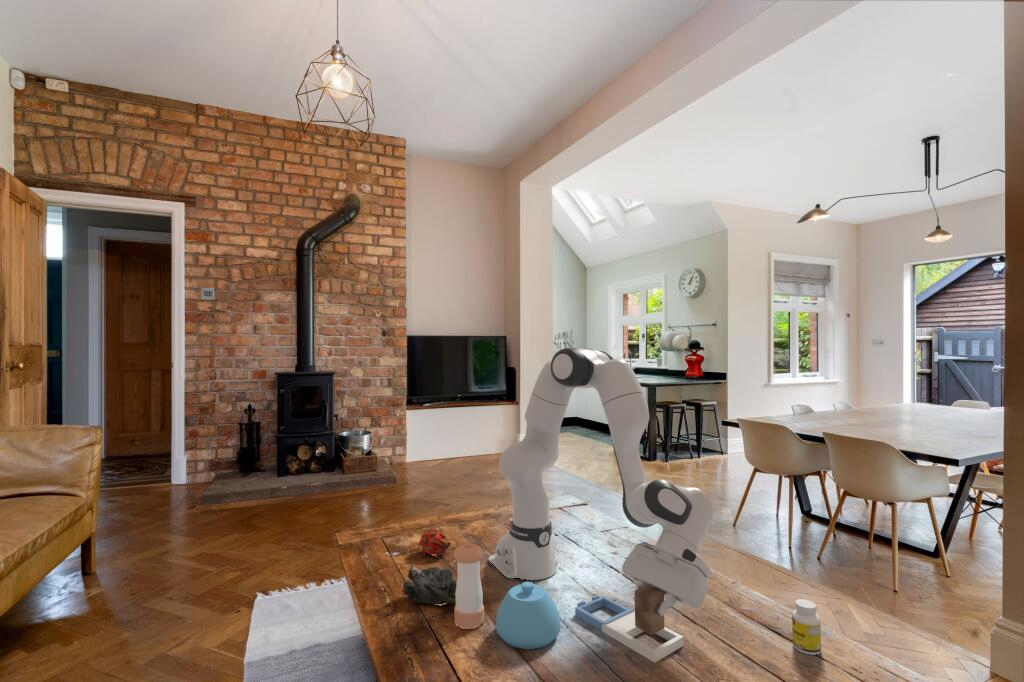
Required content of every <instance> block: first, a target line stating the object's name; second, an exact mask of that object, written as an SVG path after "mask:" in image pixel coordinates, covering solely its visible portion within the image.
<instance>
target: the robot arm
mask: <svg viewBox="0 0 1024 682" xmlns="http://www.w3.org/2000/svg"><path fill="white" fill-rule="evenodd" d="M576 388H578V389H589V388H590V389H591V388H594V389H595V390H596V392H597V393H598V395H599V398H600V401H601V406H602V408H603V411H604V414H605V418H606V420H607V421H606V422H607V424H608V428H609V432H610V433H609V434H610V437H611V441H612V446H613V447H612V448H613V453H614V456H615V460H616V463H617V464H616V465H617V469H618V472H619V475H620V476H619V477H620V481H621V484H622V501H621V502H622V503H621V504H622V510H623V514H624V515H625V517H626V519H627V520H628V521H629V522H630V523H631V524H633V525H634V526H635V527H639V528H650V527H652V526H655V525H656V524H658V525H660V526H661V527H662V531H661V534H660V535H659V537H658V539H657V541H656V543H655V545H653V544H650V543H648V542H646V541H643V542H640V543H636V544H635V546H634V548H633V549H632V550H631V552H630V553H629V554H628V556H627V557H626V559H625V560H624V562H623V564H622V565H621V571H622V573H623V574H624V575H625V576H626V578H628V579H630V580H632V581H635V582H636V583H635V590H637V589H639V588H641V587H644V586H646V585H649V586H652V587H654V588H656V589H658V590H660V591H663V592H664V598H665V599H664V602H663V603H661V604H659V603H657V605H656V607H655V612H656V613H657V614H659V615H661V616H664V617H665V614H666V612H667V610H669V609H670V608H672V607H673V606H675V604H676V602H677V601H678V602H680V603H682V604H684V605H687V606H689V607H691V608H693V609H698V608H699V607H701V606H702V605H703V603H704V600H705V598H706V595H707V592H708V589H709V580H708V579H710V578H711V576H712V574H713V571H712V570H711V567H709V565H708V564H707V563H706V561H705V560H704V559H703V558H702V557H701V556H700V555H699V554H698V553H699V547H700V543H701V542H702V541H703V540H704V538H705V537H706V535H707V532H708V531H709V528H710V525H711V523H712V520H713V517H714V512H715V506H714V502H713V501H712V499H711V497H710V496H709V495H708V494H706V492H704V491H703V490H701V489H700V488H697V487H694V486H688V487H687V486H685V487H684V486H680V485H677V484H673V483H672V482H670V481H668V480H666V479H655V480H652V481H648V480H647V479H646V478H647V477H646V474H645V470H644V467H643V463H642V459H641V455H640V442H641V440H642V436H643V435H644V432H645V430H646V428H647V426H648V425H649V422H650V410H649V405H648V401H647V399H646V396H645V394H644V391H643V389H642V388H643V387H642V386H641V383H640V380H639V379H638V377H637V375H636V373H635V371H634V370H633V368H632V366H631V364H629V362H628V361H626V360H625V359H621V358H614V357H613V356H612V355H611V354H610V353H607V352H606V351H603V350H597V349H593V348H587V347H585V348H584V347H583V348H581V347H579V348H576V347H565V348H562V349H560V350H558V351H556V353H554V355H553V357H552V359H551V360H549V361H548V362H546V363H545V364H544V365H543V366H542V369H541V370H540V373H539V374H538V376H537V379H536V380H535V384H534V386H533V388H532V392H531V394H530V398H529V401H528V404H527V407H526V410H525V413H524V419H525V422H526V430H525V435H524V437H523V439H522V440H520V441H518V442H514V443H512V444H510V445H509V446H508V447H507V448H506V449H504V451H502V453H501V454H500V456H499V459H498V467H499V470H500V473H501V475H503V477H504V478H505V479H506V480H507V482H508V485H509V489H510V492H511V498H512V500H511V501H512V520H511V521H508V522H507V523H508V524H507V526H508V527H509V526H510V528H509V532H508V533H507V534H506V535H504V536H502V537H501V538H500V539H499V540H498V541H497V542H496V547H495V553H493V554H492V555H490V556H489V557H488V559H487V560H489V561H490V562H491V563H492V564H493V565H494V566H495V567H496V568H497V569H498V570H499V571H500V572H501V573H502V574H503V575H504V576H506V577H507V578H520V579H519V580H524V579H526V580H525V581H538V580H544V579H547V578H551V577H552V576H553V575H555V574H556V572H557V565H558V559H557V558H556V557H555V545H554V539H553V536H552V534H553V531H552V530H553V526H552V522H551V511H550V509H551V506H550V505H551V504H550V500H551V499H550V495H549V493H548V492H547V491H546V489H545V487H544V483H543V476H542V475H543V473H545V472H547V471H548V470H550V469H551V468H552V467H553V466H554V465H555V463H556V462H557V461H558V459H559V455H560V449H559V448H560V447H559V438H560V432H561V431H560V430H561V427H562V423H563V420H564V417H565V414H566V412H567V408H568V405H569V402H570V398H571V396H572V393H573V391H574V390H575V389H576ZM489 561H488V562H489ZM490 562H489V563H490ZM491 563H490V564H491ZM492 564H491V565H492ZM493 565H492V566H493ZM494 566H493V567H494ZM495 567H494V568H495ZM496 568H495V569H496ZM497 569H496V570H497ZM498 570H497V571H498ZM499 571H498V572H499ZM500 572H499V573H500ZM501 573H500V574H501ZM502 574H501V575H502ZM504 576H503V577H504ZM507 578H506V579H507ZM633 602H634V603H635V595H634V597H633Z"/></svg>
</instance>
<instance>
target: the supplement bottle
mask: <svg viewBox="0 0 1024 682" xmlns="http://www.w3.org/2000/svg"><path fill="white" fill-rule="evenodd" d="M794 605H795V609H794V610H793V611H792V614H791V619H792V620H791V625H792V626H791V627H792V628H791V629H792V645H793V647H794V649H796V650H797V651H798V652H800V653H802V654H804V653H805V655H808V654H809V655H808V656H817V655H819V654H821V653H822V652H821V651H822V632H821V631H822V630H821V625H822V624H821V618H820V615H818V613H817V605H816V603H815V602H813V601H811V600H808V599H806V598H805V599H802V598H800V599H799V598H798V599H797V600H795V603H794ZM816 654H817V655H816Z"/></svg>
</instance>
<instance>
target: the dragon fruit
mask: <svg viewBox="0 0 1024 682" xmlns="http://www.w3.org/2000/svg"><path fill="white" fill-rule="evenodd" d="M418 546H419V547H421V546H422V547H421V550H422V553H423V554H424V553H427V554H429V555H430V554H440V555H441V554H446V553H447V551H448V549H449V547H450V546H451V541H449V539H448V538H447V536H446V535H445V534H443V533H442V531H441V530H439V529H438V530H437V529H436V528H430V529H427V530H425V531H424V533H422V535H421V536H420V540H419V542H418Z"/></svg>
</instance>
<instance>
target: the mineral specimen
mask: <svg viewBox="0 0 1024 682" xmlns="http://www.w3.org/2000/svg"><path fill="white" fill-rule="evenodd" d="M407 577H408V579H410V580H407V581H405V582H404V583H403V589H402V590H401V591H402V593H403V594H402V595H403V596H407V597H408V598H409V599H410V600H411V601H412V600H413V601H412V602H414V603H420V602H421V603H422V604H429V603H432V605H434V604H443V603H447V604H448V603H449V604H456V596H455V592H456V585H457V580H453V579H454V578H453V572H452V570H451V569H446V568H444V569H443V568H442V569H441V568H439V567H437V566H430V567H428V568H424V569H418V568H416V566H414V565H411V567H410V569H408V574H407ZM449 604H448V605H449Z"/></svg>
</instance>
